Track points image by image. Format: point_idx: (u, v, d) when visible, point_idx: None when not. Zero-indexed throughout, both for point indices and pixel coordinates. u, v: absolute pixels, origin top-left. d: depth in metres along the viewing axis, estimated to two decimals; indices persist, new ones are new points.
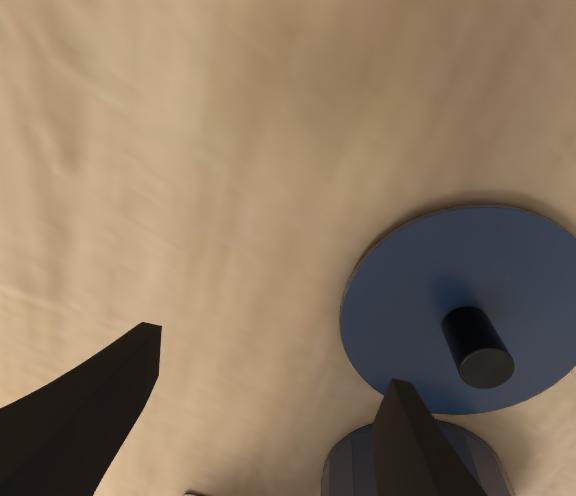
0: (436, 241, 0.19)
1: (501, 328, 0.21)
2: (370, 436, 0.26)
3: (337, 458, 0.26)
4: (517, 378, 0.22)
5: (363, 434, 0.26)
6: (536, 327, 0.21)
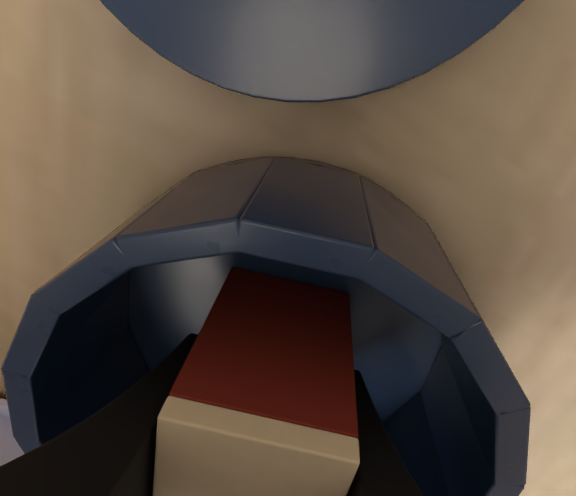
0: None
1: None
2: None
3: None
4: None
5: None
6: None
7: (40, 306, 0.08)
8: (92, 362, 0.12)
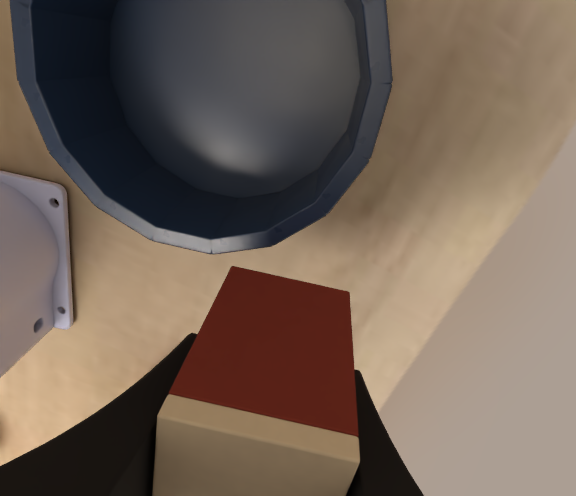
0: None
1: None
2: None
3: None
4: None
5: None
6: None
7: None
8: (79, 68, 0.16)
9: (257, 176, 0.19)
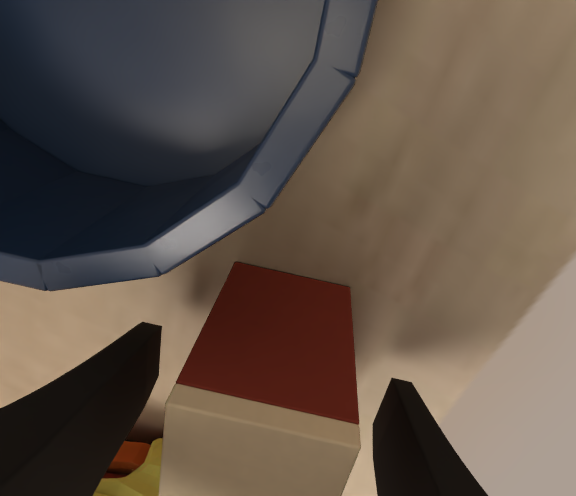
0: None
1: None
2: None
3: None
4: None
5: None
6: None
7: None
8: None
9: (175, 148, 0.12)
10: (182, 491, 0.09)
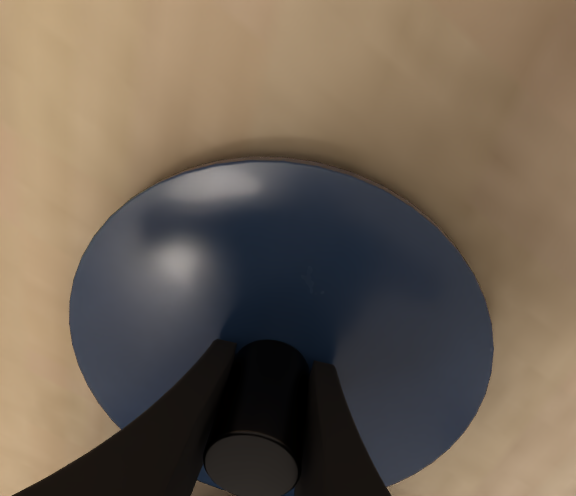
0: (186, 226, 0.11)
1: None
2: None
3: None
4: (372, 452, 0.14)
5: None
6: (387, 374, 0.12)
7: None
8: None
9: None
10: None
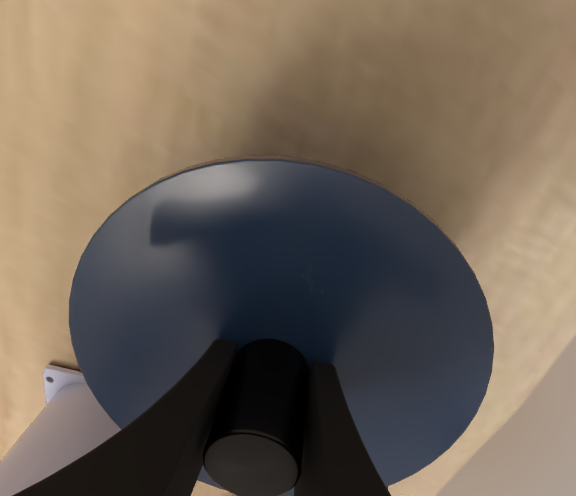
0: (186, 225, 0.11)
1: None
2: None
3: None
4: (373, 452, 0.14)
5: None
6: (387, 374, 0.12)
7: None
8: None
9: None
10: None
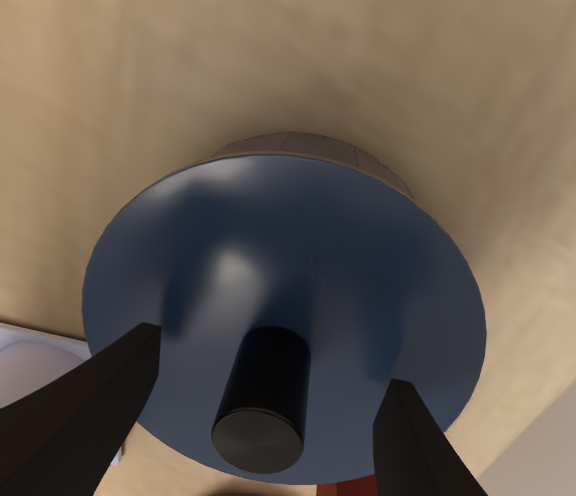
0: (194, 217, 0.11)
1: (331, 360, 0.13)
2: None
3: None
4: (371, 436, 0.14)
5: None
6: (385, 359, 0.13)
7: None
8: None
9: None
10: None
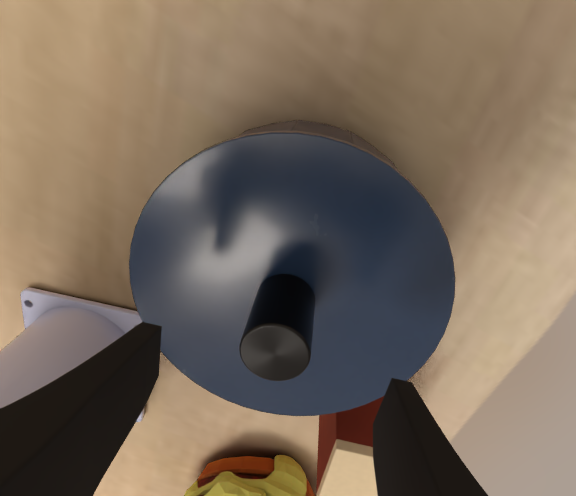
0: (224, 183, 0.14)
1: (331, 303, 0.16)
2: None
3: None
4: (364, 369, 0.17)
5: None
6: (375, 301, 0.16)
7: None
8: None
9: None
10: (334, 485, 0.20)
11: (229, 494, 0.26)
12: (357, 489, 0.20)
